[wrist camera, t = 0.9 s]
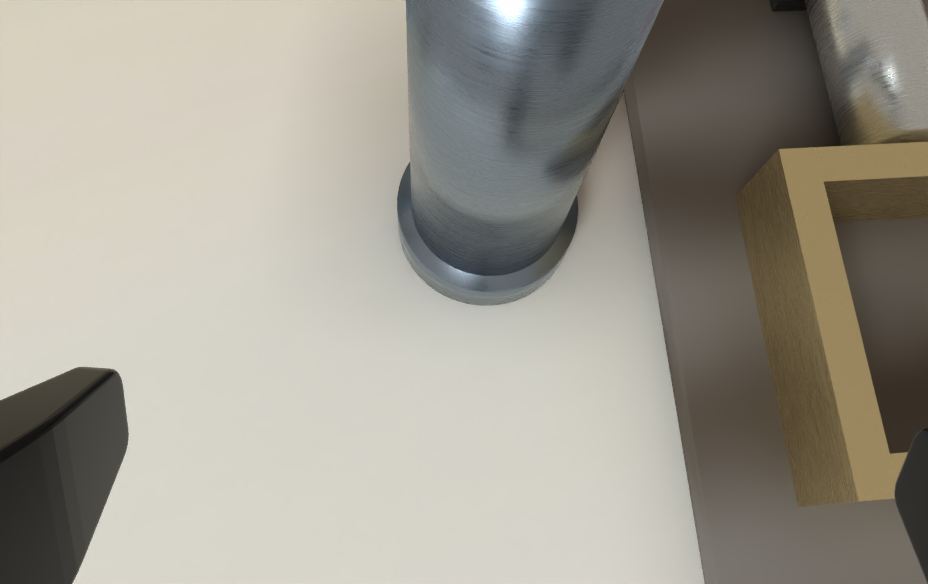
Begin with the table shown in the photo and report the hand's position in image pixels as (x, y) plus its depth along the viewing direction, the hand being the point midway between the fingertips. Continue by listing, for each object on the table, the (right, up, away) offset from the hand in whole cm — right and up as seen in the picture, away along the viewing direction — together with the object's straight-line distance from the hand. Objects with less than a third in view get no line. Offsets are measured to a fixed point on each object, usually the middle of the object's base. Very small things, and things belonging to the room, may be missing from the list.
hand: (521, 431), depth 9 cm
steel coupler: (0, +4, +15) cm, 15 cm away
